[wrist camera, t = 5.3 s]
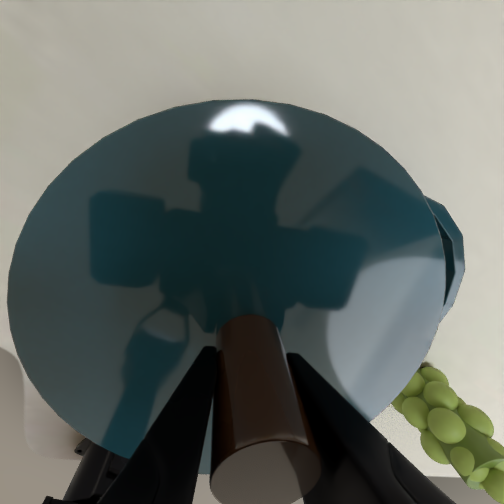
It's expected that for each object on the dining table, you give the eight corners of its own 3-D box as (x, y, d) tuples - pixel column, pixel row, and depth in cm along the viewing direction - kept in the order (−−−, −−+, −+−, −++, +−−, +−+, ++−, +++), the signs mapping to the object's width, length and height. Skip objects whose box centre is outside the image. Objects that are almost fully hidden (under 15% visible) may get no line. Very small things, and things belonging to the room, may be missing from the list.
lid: (243, 486, 14) (254, 668, 9) (-58, 338, 9) (-427, 566, 4) (480, 310, 11) (686, 426, 6) (250, -34, 6) (357, -808, 1)
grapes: (400, 408, 30) (509, 559, 18) (371, 383, 28) (474, 536, 16) (445, 376, 29) (590, 516, 17) (419, 348, 27) (564, 486, 15)
